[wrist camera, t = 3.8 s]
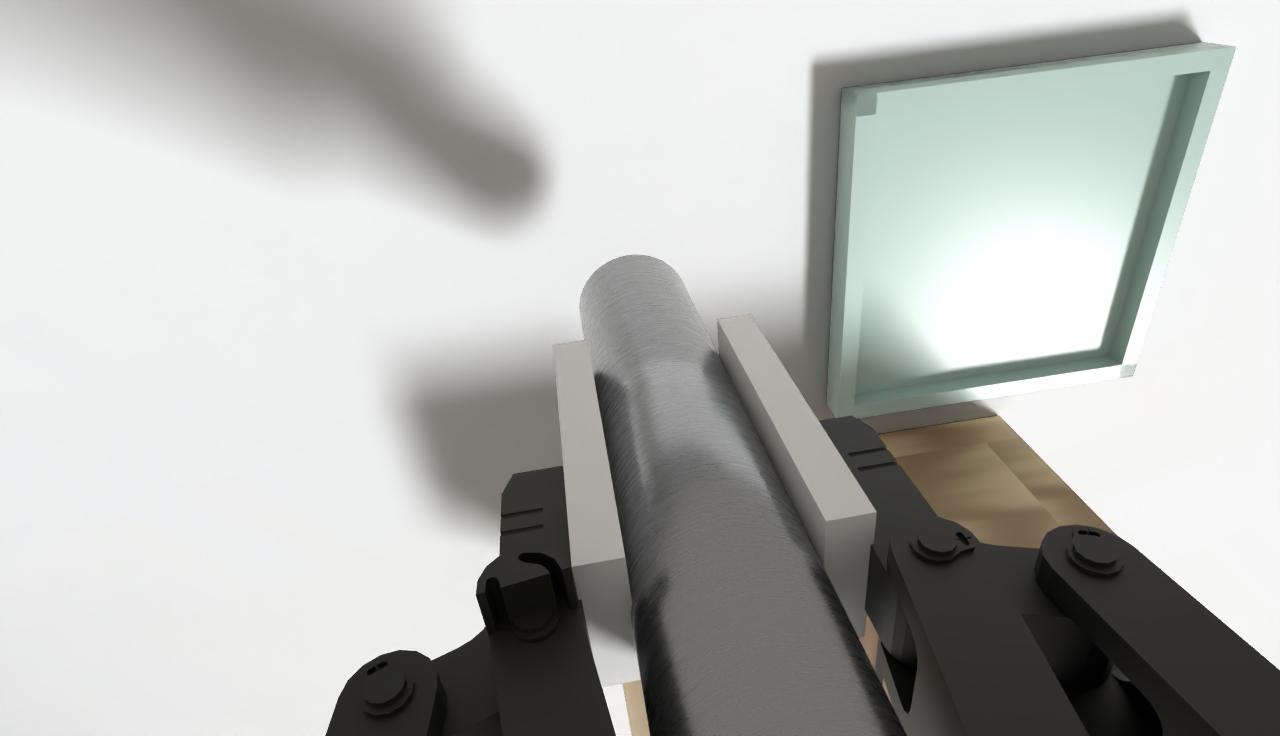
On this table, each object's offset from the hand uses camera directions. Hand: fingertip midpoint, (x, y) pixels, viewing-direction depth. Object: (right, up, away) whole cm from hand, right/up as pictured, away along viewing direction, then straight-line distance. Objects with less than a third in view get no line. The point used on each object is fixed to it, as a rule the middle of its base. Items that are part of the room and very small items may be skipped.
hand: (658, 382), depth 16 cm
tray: (+12, +5, +9) cm, 16 cm away
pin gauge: (-1, +2, +4) cm, 4 cm away
